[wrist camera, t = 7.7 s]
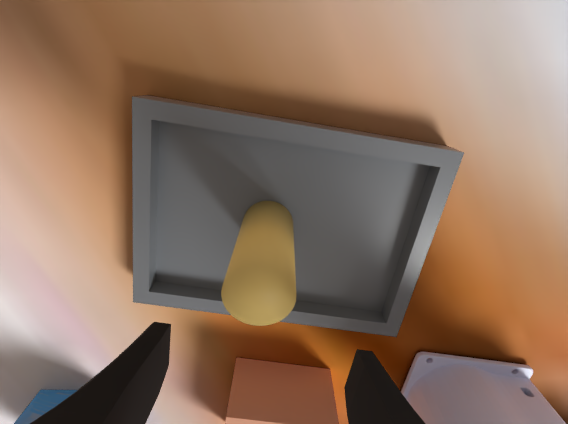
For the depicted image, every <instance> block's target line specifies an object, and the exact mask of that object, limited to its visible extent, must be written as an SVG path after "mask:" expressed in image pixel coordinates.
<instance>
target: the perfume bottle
mask: <svg viewBox="0 0 568 424" xmlns="http://www.w3.org/2000/svg"><path fill="white" fill-rule="evenodd" d="M76 391H77V390H40V391H39V393H38V394H37V395H36V396H35V398H34V399H33V400H32V401H31V403H30V404H29V405H28V406H27V408H26V409H25V410H24V412H23V413H22V414H21V415H20V417H19V418H18V419H17V420H16V422H15V423H14V424H30V423H31V422H33V421H34V420H36V419H37V418H39V417H40V416H42V415H43V414H45V413H46V412H48V411H49V410H51V409H52V408H54V407H55V406H57V405H58V404H60V403H61V402H62V401H64V400H65V399H66V398H68V397H69V396H71V395H72V394H73V393H75V392H76Z"/></svg>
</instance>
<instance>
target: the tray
mask: <svg viewBox="0 0 568 424" xmlns="http://www.w3.org/2000/svg"><path fill="white" fill-rule="evenodd" d="M463 154H464V152H461V151H459V150H456V149H454V148H451V147H449V146H444V145H438V144H433V143H427V142H421V141H415V140H409V139H403V138H397V137H391V136H385V135H380V134H374V133H368V132H362V131H356V130H350V129H344V128H338V127H332V126H326V125H321V124H315V123H309V122H303V121H297V120H291V119H285V118H279V117H273V116H268V115H262V114H256V113H250V112H244V111H238V110H232V109H226V108H220V107H215V106H209V105H203V104H197V103H191V102H185V101H179V100H173V99H167V98H161V97H156V96H150V95H142V96H132V181H133V302H136V303H144V304H151V305H159V306H166V307H174V308H182V309H189V310H197V311H204V312H212V313H219V314H227V315H231V314H230V313H229V312H228V311H227V310H226V308H225V306H224V304H223V301H222V296H221V290H222V286H223V282H224V279H225V276H226V273H227V269H228V266H229V263H230V260H231V257H232V253H233V250H234V247H235V244H236V241H237V237H238V234H239V231H240V228H241V225H242V221H243V218H244V215H245V213H246V211H247V210H248V209H249V208H250V207H251V206H252V205H254V204H256V203H258V202H261V201H274V202H277V203H280V204H281V205H283V206H284V207H285V208H287V210H288V211H289V212H290V214H291V216H292V219H293V232H294V254H295V276H296V302H295V305H294V307H293V309H292V311H291V312H290V313H289V315H288V316H286V317H285V318H284V319H282V320H281V321H280V322H287V323H295V324H302V325H310V326H318V327H325V328H333V329H340V330H348V331H355V332H363V333H371V334H378V335H386V336H393V337H397V334H398V331H399V329H400V326H401V323H402V321H403V318H404V315H405V312H406V310H407V307H408V304H409V301H410V299H411V296H412V293H413V291H414V288H415V285H416V282H417V280H418V277H419V274H420V272H421V269H422V266H423V263H424V261H425V258H426V255H427V252H428V250H429V247H430V244H431V242H432V239H433V236H434V233H435V231H436V228H437V225H438V222H439V220H440V217H441V214H442V212H443V209H444V206H445V203H446V201H447V198H448V195H449V192H450V190H451V187H452V184H453V182H454V179H455V176H456V173H457V171H458V168H459V165H460V163H461V160H462V157H463Z"/></svg>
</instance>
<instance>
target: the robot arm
mask: <svg viewBox="0 0 568 424" xmlns="http://www.w3.org/2000/svg"><path fill="white" fill-rule="evenodd" d="M170 332H171V324H166V323H159V322H154V323H152V324H151V325H150V326H149V327H148V328H147V329H146V330H145V331H144V332H143V333H142V334H141V335H140V336H139V337H138V338H137V339H136V340H135V341H134V342H133V343H132V344H131V345H130V346H129V347H128V348H127V349H126V350H125V351H124V352H122V353H121V354H120V355H119V356H118V357H117V358H116V359H115V360H114V361H113V362H111V363H110V364H109V365H108V366H107V367H106V368H104V369H103V370H102V371H101V372H100V373H98V374H97V375H96V376H95V377H94V378H92V379H91V380H90V381H89V382H88V383H86V384H85V385H84V386H82V387H81V388H80V389H79V390H77V391H76V392H75V393H73V394H72V395H71V396H69V397H68V398H66V399H65V400H64V401H62V402H61V403H60V404H58V405H57V406H55V407H54V408H52V409H51V410H49V411H48V412H46V413H45V414H43V415H42V416H40V417H39V418H37V419H36V420H34V421H33V422H31V423H30V424H145V423H146V421H147V419H148V417H149V414H150V412H151V410H152V408H153V406H154V403H155V401H156V399H157V397H158V395H159V392H160V389H161V387H162V384H163V381H164V378H165V375H166V372H167V369H168V366H169V350H170ZM428 358H430V359H428ZM532 374H533V369H532V368H531V367H530V366H529V365H523V364H516V363H508V362H500V361H493V360H485V359H477V358H470V357H462V356H454V355H446V354H439V353H431V352H418V353H417V354H416V356H415V358H414V361H413V363H412V365H411V368H410V370H409V373H408V375H407V378H406V380H405V383H404V385H403V388H402V390H401V392H400V390H399V389H398V387H397V386H396V385H395V383H394V382H393V380H392V379H391V378H390V376H389V375H388V373H387V372H386V370H385V369H384V368H383V366H382V365H381V363H380V362H379V360H378V359H377V358H376V356H375V355H374V353H373V352H372V351H365V350H358V349H357V351H356V354H355V357H354V360H353V363H352V366H351V369H350V372H349V375H348V379H347V382H346V385H345V398H346V408H347V416H348V421H349V424H566V423H565V422H564V421H563V420H562V418H561V417H560V416H559V415H558V413H557V412H556V411H555V410H554V409H553V407H552V406H551V405H550V404H549V403H548V401H547V400H546V399H545V398H544V396H543V395H542V394H541V393H540V392H539V390H538V389H537V388H536V387H535V386H534V384H533V383H532V382H531V381H530V377H531V376H532Z"/></svg>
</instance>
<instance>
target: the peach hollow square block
mask: <svg viewBox="0 0 568 424" xmlns="http://www.w3.org/2000/svg"><path fill="white" fill-rule="evenodd" d="M225 424H339V422H338V415H337V409H336V403H335V397H334V390H333V384H332V378H331V372H330V369H326V368H318V367H310V366H302V365H294V364H286V363H278V362H270V361H262V360H254V359H246V358H237V357H236V362H235V368H234V374H233V379H232V385H231V391H230V397H229V403H228V408H227V414H226V421H225Z"/></svg>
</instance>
